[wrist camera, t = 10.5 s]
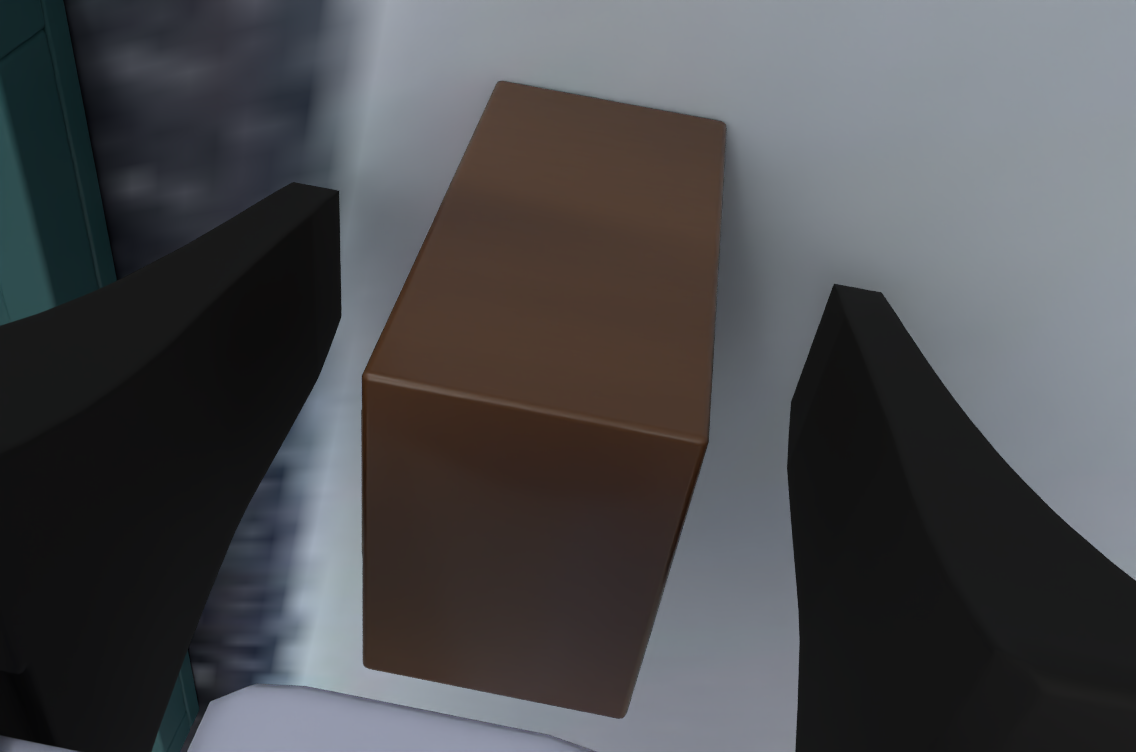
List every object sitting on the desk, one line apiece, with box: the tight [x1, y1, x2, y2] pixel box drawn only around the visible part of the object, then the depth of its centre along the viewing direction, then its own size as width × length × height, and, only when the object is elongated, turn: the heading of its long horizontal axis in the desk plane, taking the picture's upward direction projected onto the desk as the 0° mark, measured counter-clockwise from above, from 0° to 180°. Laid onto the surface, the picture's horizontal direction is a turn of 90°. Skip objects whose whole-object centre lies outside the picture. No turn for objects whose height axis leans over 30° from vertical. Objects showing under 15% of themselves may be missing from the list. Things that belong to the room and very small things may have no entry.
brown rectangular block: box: [361, 81, 727, 719], centre depth 12 cm, size 4×3×6 cm
